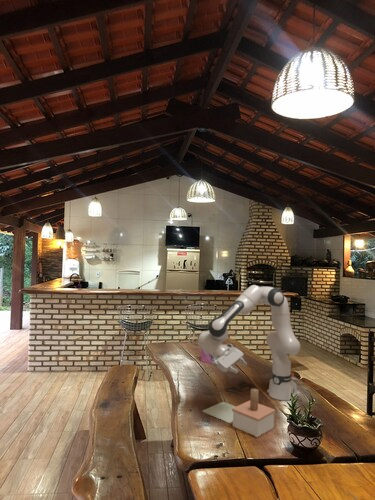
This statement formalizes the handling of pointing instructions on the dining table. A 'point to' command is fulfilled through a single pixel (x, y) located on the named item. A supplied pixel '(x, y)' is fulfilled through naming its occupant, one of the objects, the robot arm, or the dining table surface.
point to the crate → (253, 424)
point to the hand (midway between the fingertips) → (242, 368)
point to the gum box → (206, 357)
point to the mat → (221, 411)
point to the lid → (254, 408)
